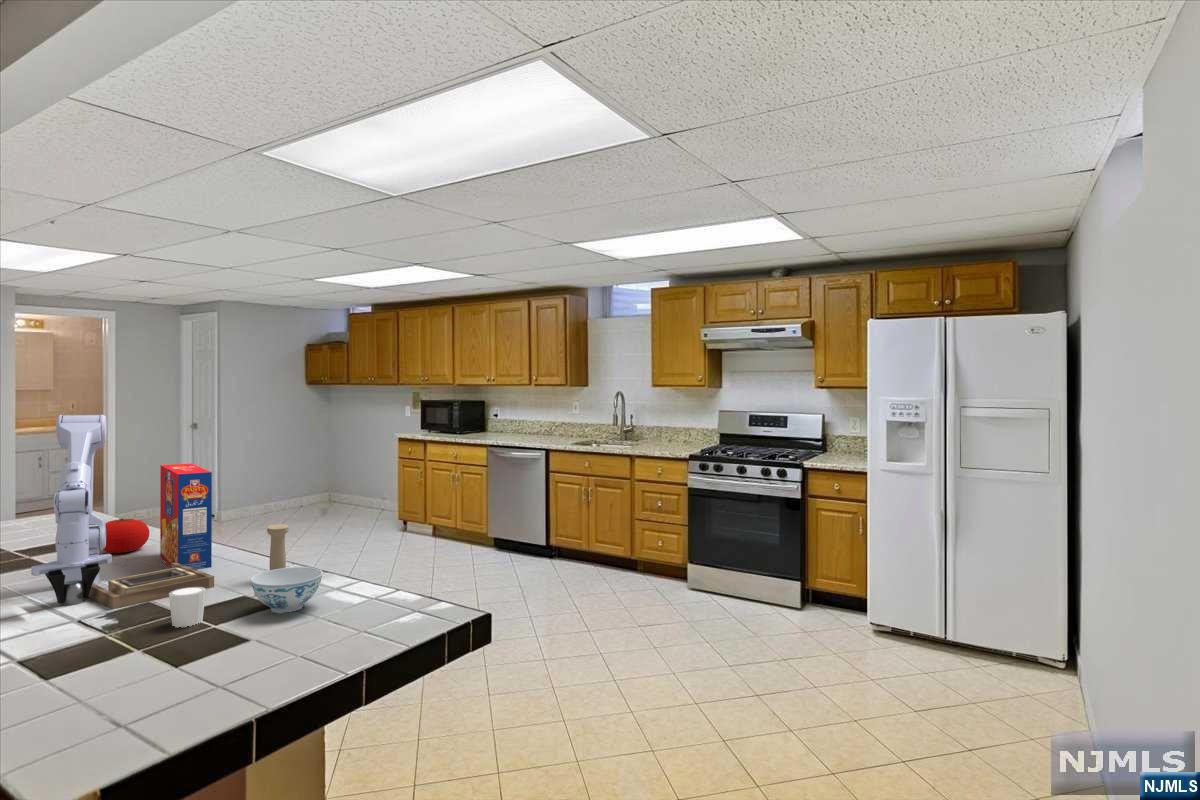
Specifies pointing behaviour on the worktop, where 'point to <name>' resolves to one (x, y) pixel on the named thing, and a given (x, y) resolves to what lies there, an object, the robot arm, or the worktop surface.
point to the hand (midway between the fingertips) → (73, 600)
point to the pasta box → (186, 515)
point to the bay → (150, 590)
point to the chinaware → (286, 587)
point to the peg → (73, 592)
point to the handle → (277, 546)
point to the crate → (149, 580)
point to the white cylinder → (187, 606)
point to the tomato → (125, 535)
